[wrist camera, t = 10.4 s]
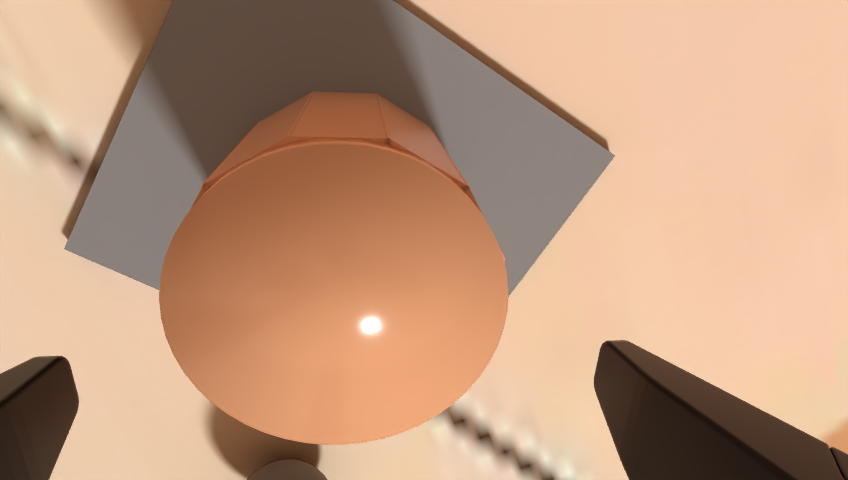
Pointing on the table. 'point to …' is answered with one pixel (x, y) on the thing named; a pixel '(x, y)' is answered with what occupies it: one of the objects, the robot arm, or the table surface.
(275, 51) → the charcoal mat
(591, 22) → the table surface
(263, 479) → the grey ball
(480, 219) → the terracotta cup
